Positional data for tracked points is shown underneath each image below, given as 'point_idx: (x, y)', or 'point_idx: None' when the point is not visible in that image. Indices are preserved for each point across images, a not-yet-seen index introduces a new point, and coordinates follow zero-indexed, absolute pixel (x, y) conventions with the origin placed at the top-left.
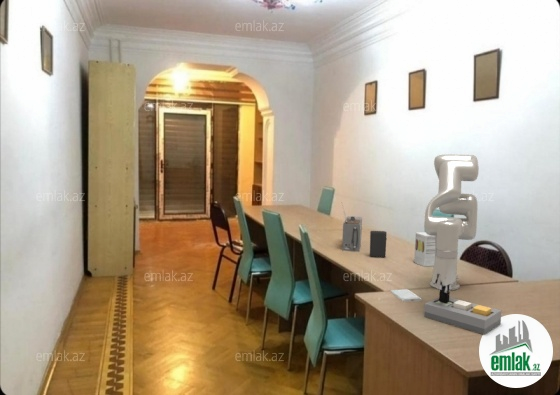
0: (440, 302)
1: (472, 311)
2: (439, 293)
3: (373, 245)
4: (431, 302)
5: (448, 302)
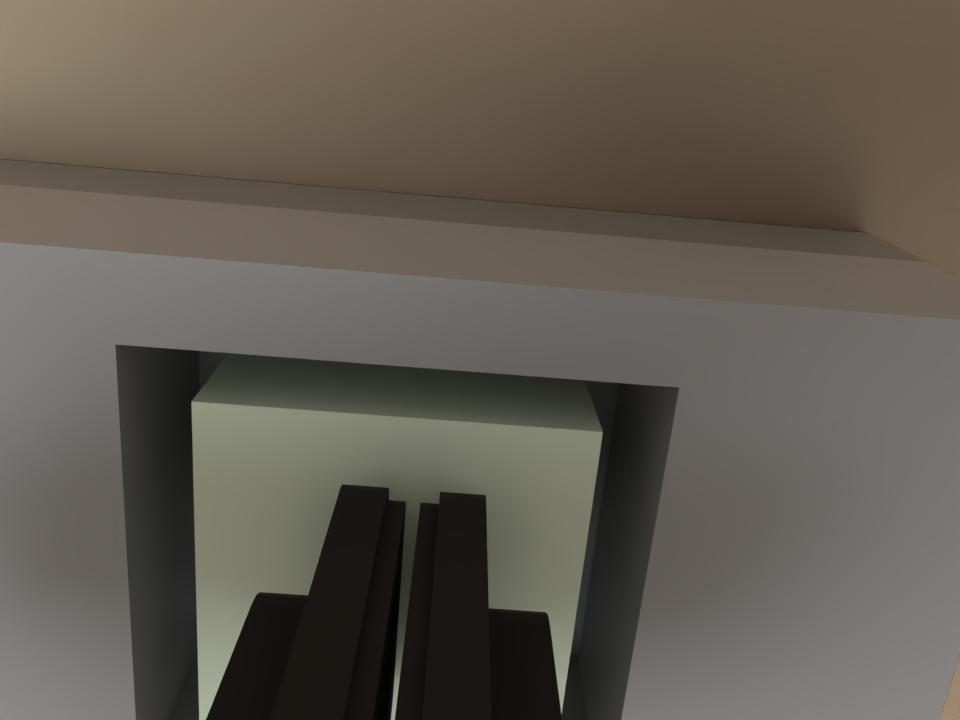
0: None
1: None
2: (293, 653)
3: None
4: (31, 339)
5: None
